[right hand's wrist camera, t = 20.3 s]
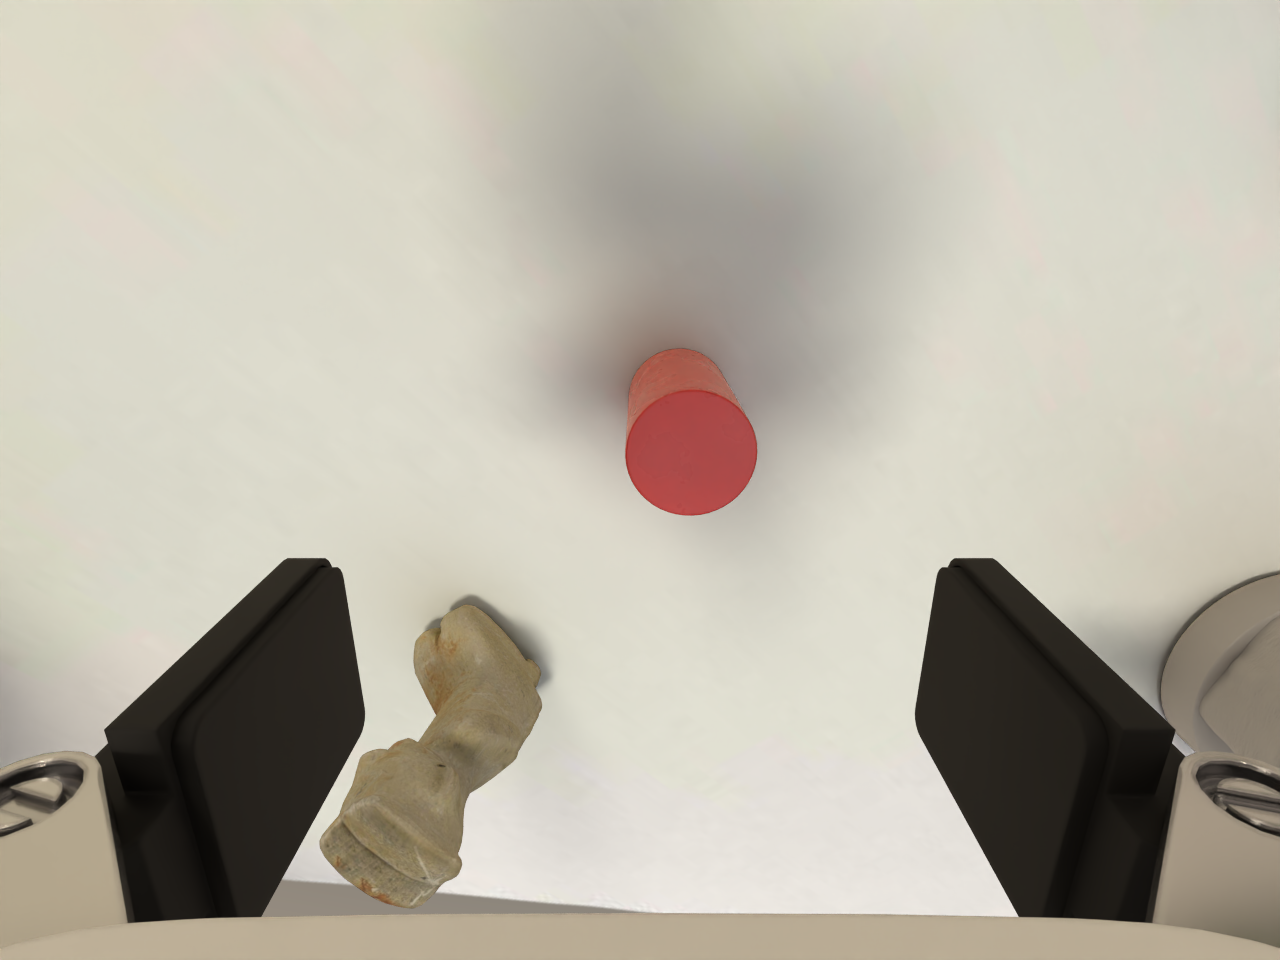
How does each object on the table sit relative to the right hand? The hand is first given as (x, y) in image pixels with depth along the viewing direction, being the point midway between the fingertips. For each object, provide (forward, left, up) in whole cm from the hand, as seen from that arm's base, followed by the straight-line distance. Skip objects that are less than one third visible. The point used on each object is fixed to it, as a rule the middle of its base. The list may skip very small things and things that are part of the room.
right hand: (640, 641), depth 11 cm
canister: (0, +3, -25) cm, 25 cm away
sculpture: (+18, +4, -25) cm, 32 cm away
